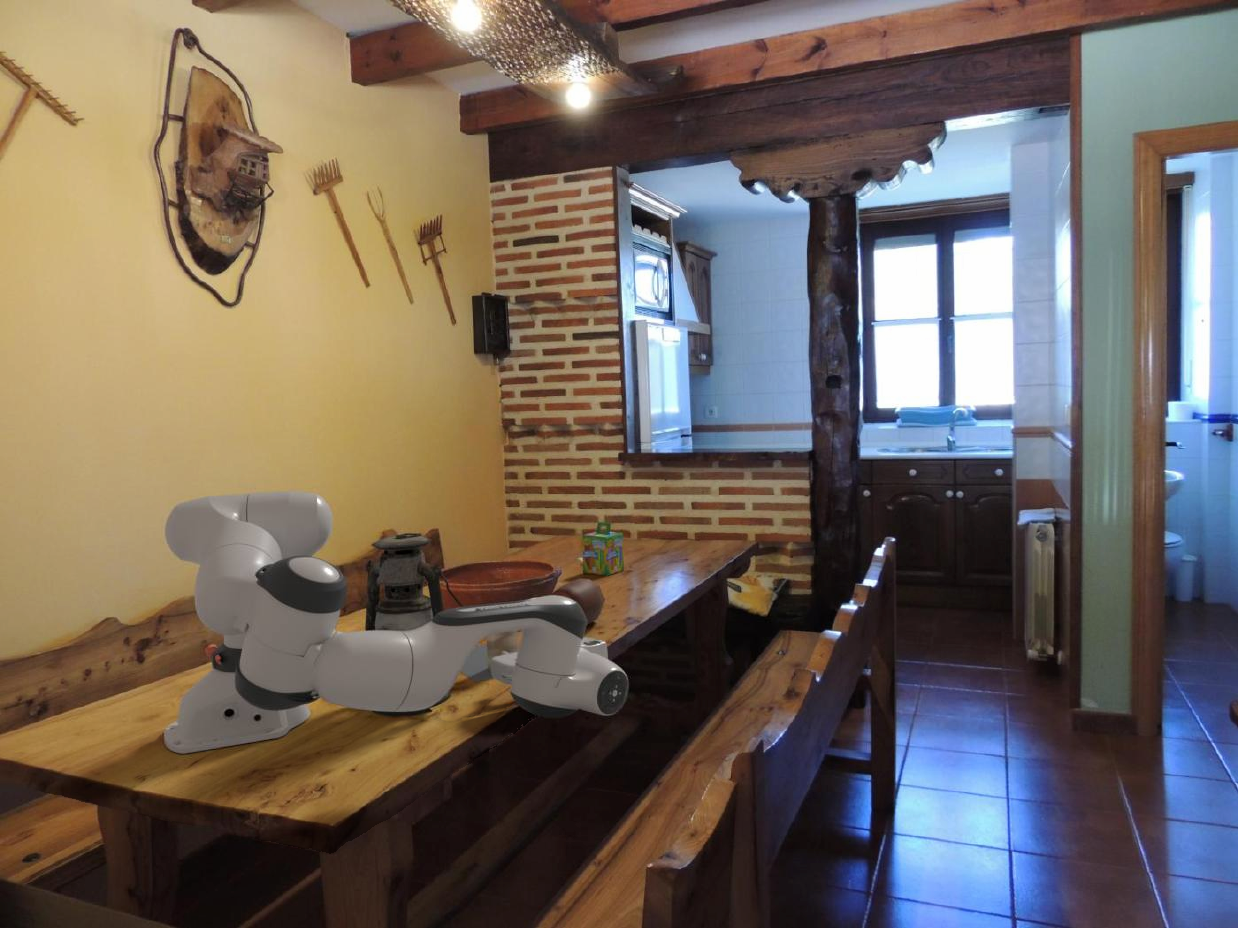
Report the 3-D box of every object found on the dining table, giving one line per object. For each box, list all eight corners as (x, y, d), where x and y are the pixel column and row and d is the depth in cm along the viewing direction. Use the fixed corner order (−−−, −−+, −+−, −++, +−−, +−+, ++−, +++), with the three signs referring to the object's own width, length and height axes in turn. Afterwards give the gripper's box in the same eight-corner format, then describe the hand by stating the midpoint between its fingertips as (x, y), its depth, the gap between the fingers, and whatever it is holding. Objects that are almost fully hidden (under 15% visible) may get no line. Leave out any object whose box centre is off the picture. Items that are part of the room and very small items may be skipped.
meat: (578, 641, 191) (576, 595, 190) (532, 637, 196) (529, 592, 194) (616, 616, 209) (614, 574, 208) (573, 613, 214) (571, 572, 213)
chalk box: (582, 573, 260) (580, 524, 259) (600, 568, 268) (598, 519, 267) (607, 576, 255) (605, 526, 254) (625, 570, 262) (623, 521, 261)
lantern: (340, 710, 153) (329, 540, 151) (405, 675, 171) (396, 523, 168) (432, 721, 146) (422, 543, 144) (489, 684, 164) (481, 525, 162)
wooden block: (493, 671, 170) (490, 610, 169) (488, 668, 172) (484, 607, 171) (518, 665, 173) (516, 605, 172) (513, 662, 175) (510, 603, 174)
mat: (476, 685, 164) (476, 682, 164) (432, 657, 182) (432, 654, 182) (551, 667, 172) (551, 664, 172) (503, 642, 191) (502, 640, 191)
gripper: (511, 699, 146) (477, 678, 157) (615, 674, 157) (576, 656, 168) (509, 662, 145) (475, 643, 157) (613, 639, 156) (574, 623, 168)
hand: (528, 650), depth 163 cm, fingers open, 8 cm apart
